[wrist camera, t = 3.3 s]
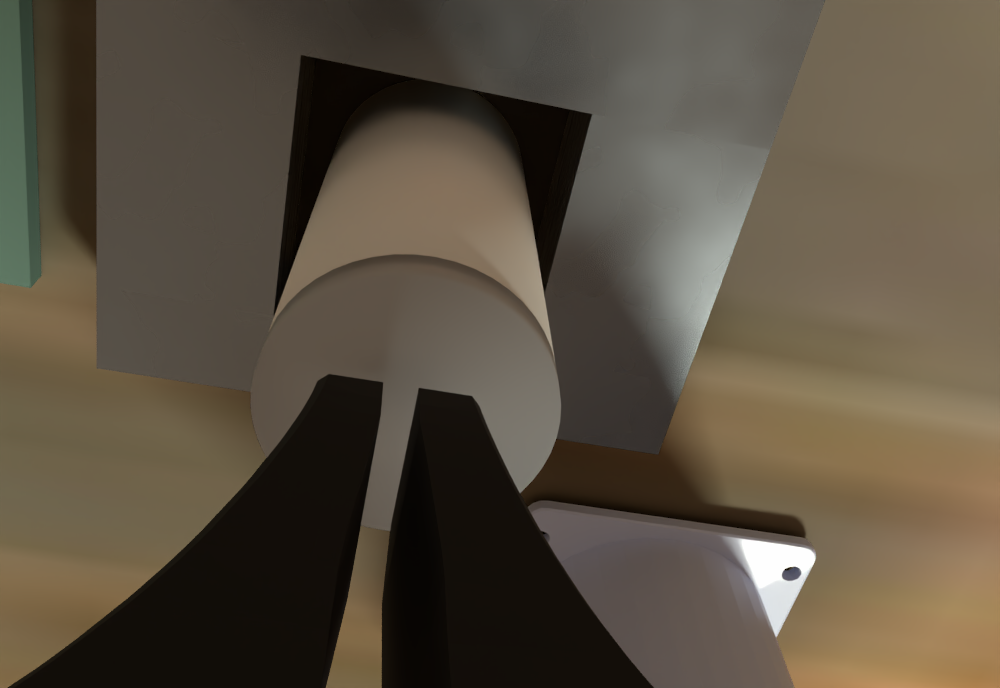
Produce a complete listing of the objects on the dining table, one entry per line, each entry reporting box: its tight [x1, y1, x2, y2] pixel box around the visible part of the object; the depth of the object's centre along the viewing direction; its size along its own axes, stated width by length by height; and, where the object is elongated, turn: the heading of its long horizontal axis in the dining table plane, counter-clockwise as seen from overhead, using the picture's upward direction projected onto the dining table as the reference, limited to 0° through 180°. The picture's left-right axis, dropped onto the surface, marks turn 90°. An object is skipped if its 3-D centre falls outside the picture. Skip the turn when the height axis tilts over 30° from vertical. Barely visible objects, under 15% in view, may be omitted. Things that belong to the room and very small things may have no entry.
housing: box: [96, 0, 825, 455], centre depth 17 cm, size 15×12×2 cm
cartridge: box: [251, 79, 561, 531], centre depth 16 cm, size 4×4×9 cm
